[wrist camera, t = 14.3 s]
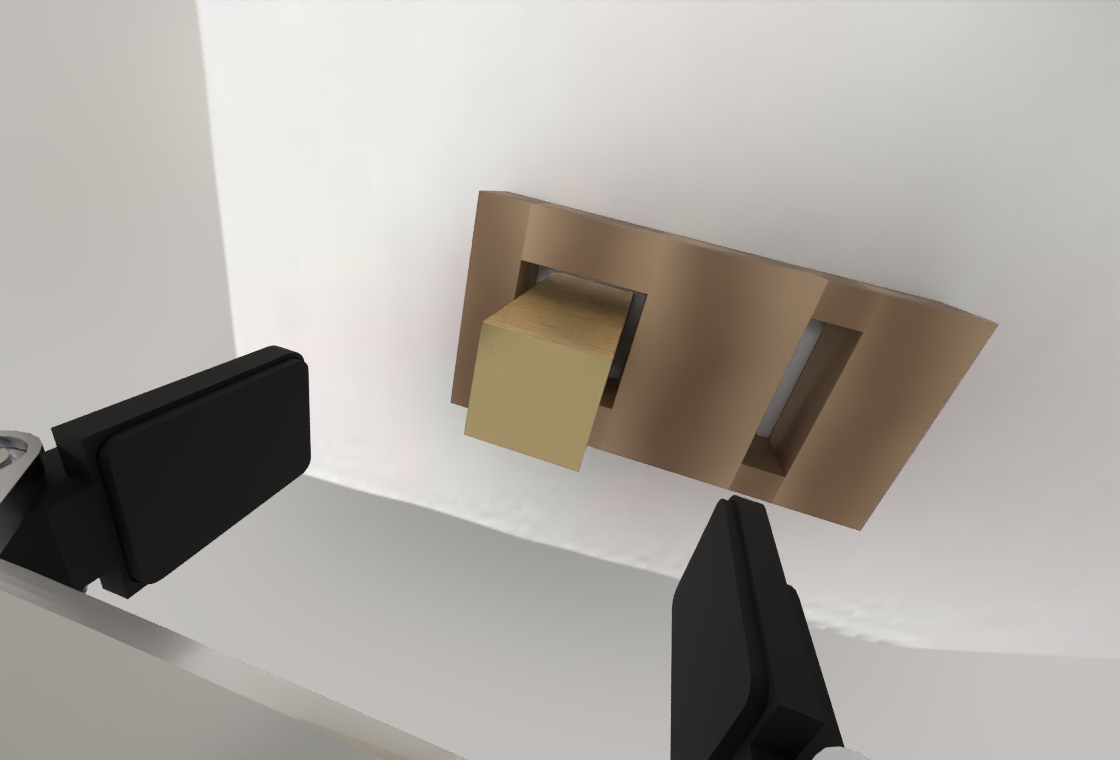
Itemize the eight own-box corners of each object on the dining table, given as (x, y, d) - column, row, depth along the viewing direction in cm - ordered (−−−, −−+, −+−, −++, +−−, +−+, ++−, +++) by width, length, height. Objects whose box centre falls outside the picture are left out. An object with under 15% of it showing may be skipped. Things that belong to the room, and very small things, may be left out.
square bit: (633, 293, 22) (611, 360, 13) (611, 366, 23) (578, 471, 14) (555, 271, 22) (482, 322, 13) (539, 344, 24) (463, 434, 15)
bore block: (943, 303, 19) (998, 324, 16) (833, 485, 23) (860, 531, 20) (506, 191, 21) (479, 190, 18) (477, 377, 25) (450, 402, 22)
